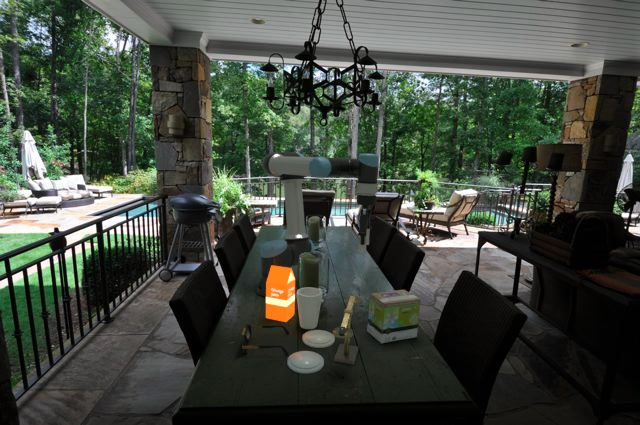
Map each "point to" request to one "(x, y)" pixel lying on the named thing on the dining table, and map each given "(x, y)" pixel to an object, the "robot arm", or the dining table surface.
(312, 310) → the foam cup
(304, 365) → the dish low
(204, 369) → the dining table surface
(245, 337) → the sunglasses
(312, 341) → the dish high
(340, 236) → the dining table surface
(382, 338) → the tea box
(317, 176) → the robot arm
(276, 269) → the orange juice
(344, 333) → the balance
